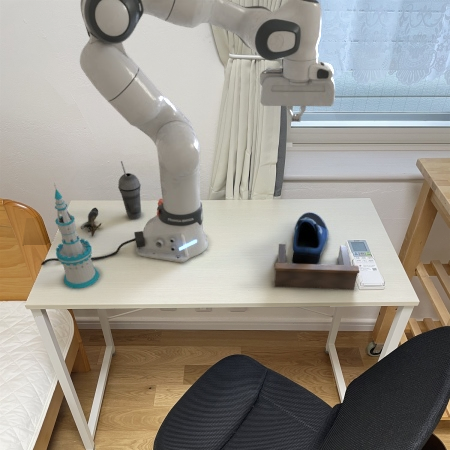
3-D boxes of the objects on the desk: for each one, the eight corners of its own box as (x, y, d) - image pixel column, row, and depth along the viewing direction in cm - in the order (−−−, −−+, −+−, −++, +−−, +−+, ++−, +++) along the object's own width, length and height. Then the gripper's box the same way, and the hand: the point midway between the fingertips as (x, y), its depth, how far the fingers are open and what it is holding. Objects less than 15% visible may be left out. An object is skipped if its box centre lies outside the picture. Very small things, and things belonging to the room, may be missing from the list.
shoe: (329, 224, 152) (334, 190, 144) (323, 280, 131) (329, 244, 123) (296, 220, 154) (299, 187, 146) (286, 275, 133) (289, 240, 124)
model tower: (64, 269, 136) (35, 176, 116) (99, 264, 138) (75, 172, 118) (63, 290, 129) (31, 195, 109) (99, 285, 130) (74, 190, 110)
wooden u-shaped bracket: (273, 287, 129) (274, 268, 124) (273, 257, 139) (274, 238, 135) (355, 290, 127) (359, 271, 123) (348, 259, 138) (352, 240, 133)
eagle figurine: (109, 230, 150) (103, 212, 155) (94, 218, 144) (89, 200, 149) (92, 243, 151) (87, 225, 156) (76, 232, 146) (71, 214, 151)
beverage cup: (143, 221, 155) (134, 166, 142) (122, 222, 155) (111, 166, 142) (146, 210, 161) (138, 156, 147) (125, 210, 161) (116, 156, 148)
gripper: (260, 71, 120) (258, 124, 129) (339, 72, 118) (331, 125, 127) (260, 65, 124) (258, 116, 133) (336, 65, 123) (329, 117, 132)
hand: (295, 121), depth 130 cm, fingers closed
